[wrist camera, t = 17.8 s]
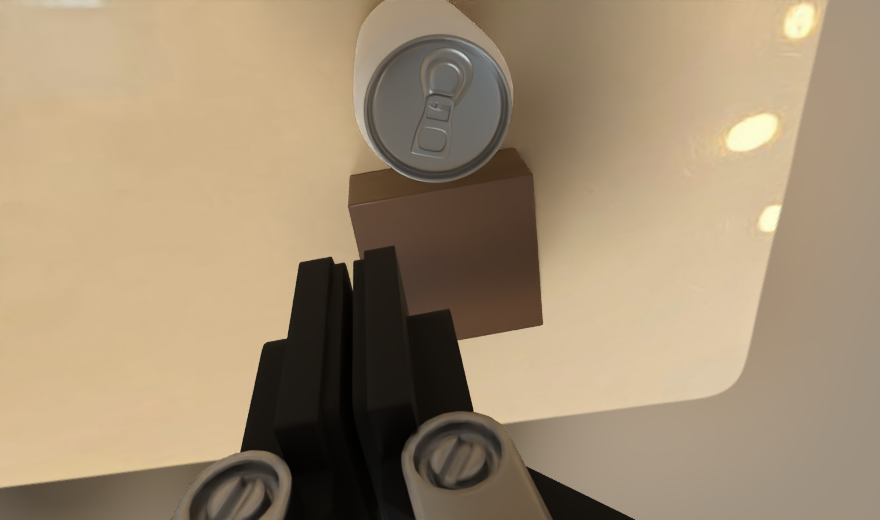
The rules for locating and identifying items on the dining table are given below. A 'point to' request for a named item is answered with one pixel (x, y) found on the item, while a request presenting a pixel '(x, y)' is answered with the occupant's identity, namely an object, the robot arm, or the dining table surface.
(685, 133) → the dining table surface
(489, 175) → the walnut block
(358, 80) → the can
